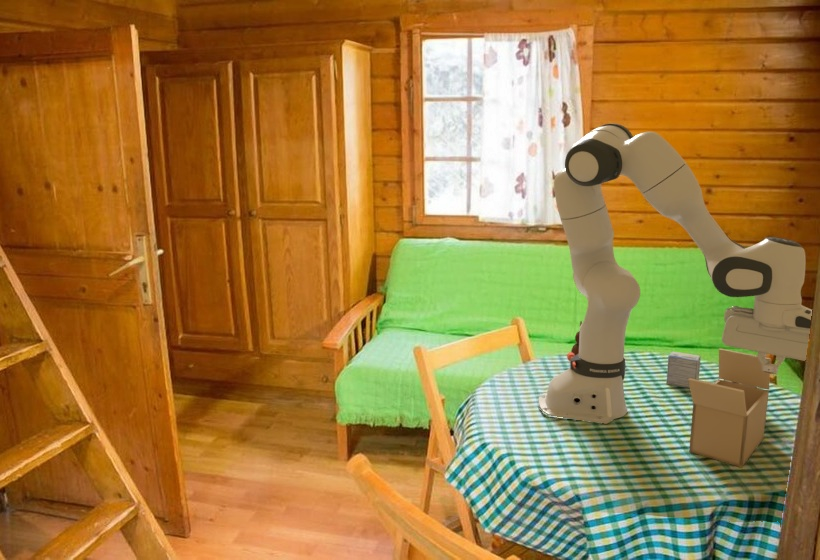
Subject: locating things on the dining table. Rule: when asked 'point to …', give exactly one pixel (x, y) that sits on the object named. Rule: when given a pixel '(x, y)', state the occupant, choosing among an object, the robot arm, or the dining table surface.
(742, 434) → the carton
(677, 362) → the medicine box
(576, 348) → the wooden figurine
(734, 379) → the back flap
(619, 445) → the dining table surface
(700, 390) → the front flap
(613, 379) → the robot arm
